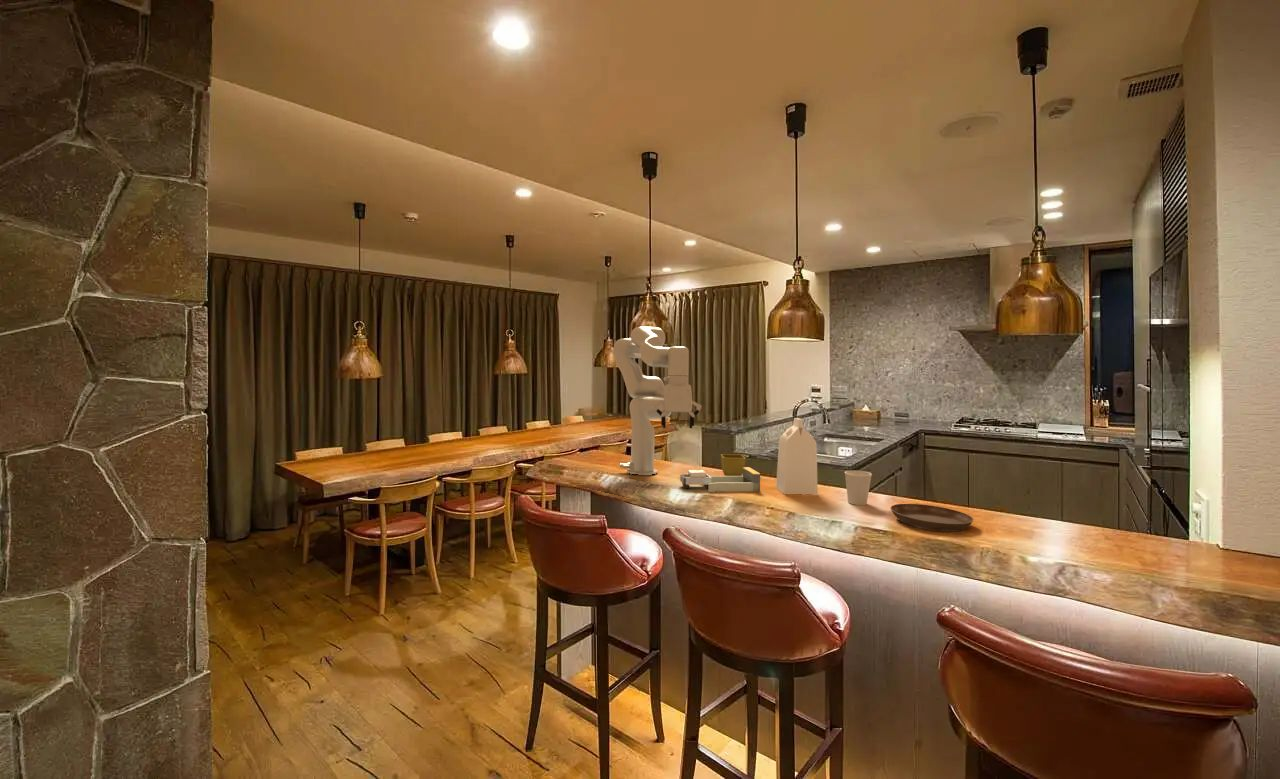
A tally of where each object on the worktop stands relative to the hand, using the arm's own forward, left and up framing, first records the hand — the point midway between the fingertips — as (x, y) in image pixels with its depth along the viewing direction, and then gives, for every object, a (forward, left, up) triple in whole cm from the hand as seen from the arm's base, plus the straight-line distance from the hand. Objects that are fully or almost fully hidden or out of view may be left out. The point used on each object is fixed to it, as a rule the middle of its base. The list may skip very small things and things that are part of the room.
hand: (677, 427), depth 191 cm
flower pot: (+25, +16, -22) cm, 37 cm away
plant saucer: (+65, -48, -22) cm, 84 cm away
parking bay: (+19, -1, -21) cm, 29 cm away
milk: (+42, -7, -22) cm, 48 cm away
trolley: (+7, -1, -22) cm, 23 cm away
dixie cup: (+56, -25, -22) cm, 65 cm away
